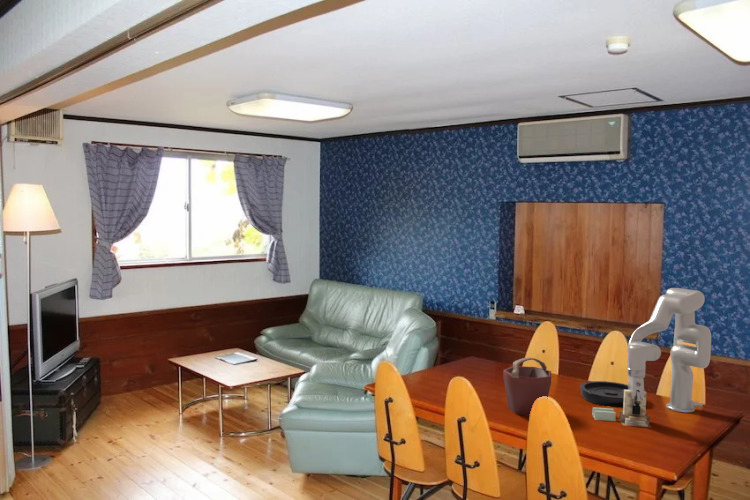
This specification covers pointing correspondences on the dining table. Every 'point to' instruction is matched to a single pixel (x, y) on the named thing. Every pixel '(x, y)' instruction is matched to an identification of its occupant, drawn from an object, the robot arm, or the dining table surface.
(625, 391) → the birch board
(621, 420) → the rack
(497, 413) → the dining table surface
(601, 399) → the round tray
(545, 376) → the bucket
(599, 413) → the slotted stand
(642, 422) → the offcut stack
